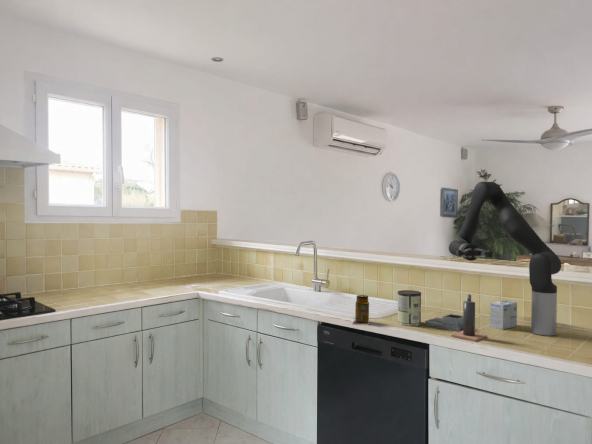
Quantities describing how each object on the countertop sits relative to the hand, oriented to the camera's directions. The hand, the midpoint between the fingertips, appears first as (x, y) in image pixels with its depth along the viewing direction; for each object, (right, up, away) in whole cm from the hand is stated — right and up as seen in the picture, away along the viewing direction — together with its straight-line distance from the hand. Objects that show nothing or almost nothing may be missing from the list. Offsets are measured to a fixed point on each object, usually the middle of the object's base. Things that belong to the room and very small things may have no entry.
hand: (478, 254), depth 193 cm
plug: (-8, -31, -11) cm, 34 cm away
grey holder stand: (-11, -32, +5) cm, 34 cm away
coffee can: (-27, -32, +11) cm, 43 cm away
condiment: (-48, -32, +12) cm, 59 cm away
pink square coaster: (-8, -32, -11) cm, 35 cm away
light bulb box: (+14, -32, +7) cm, 36 cm away
